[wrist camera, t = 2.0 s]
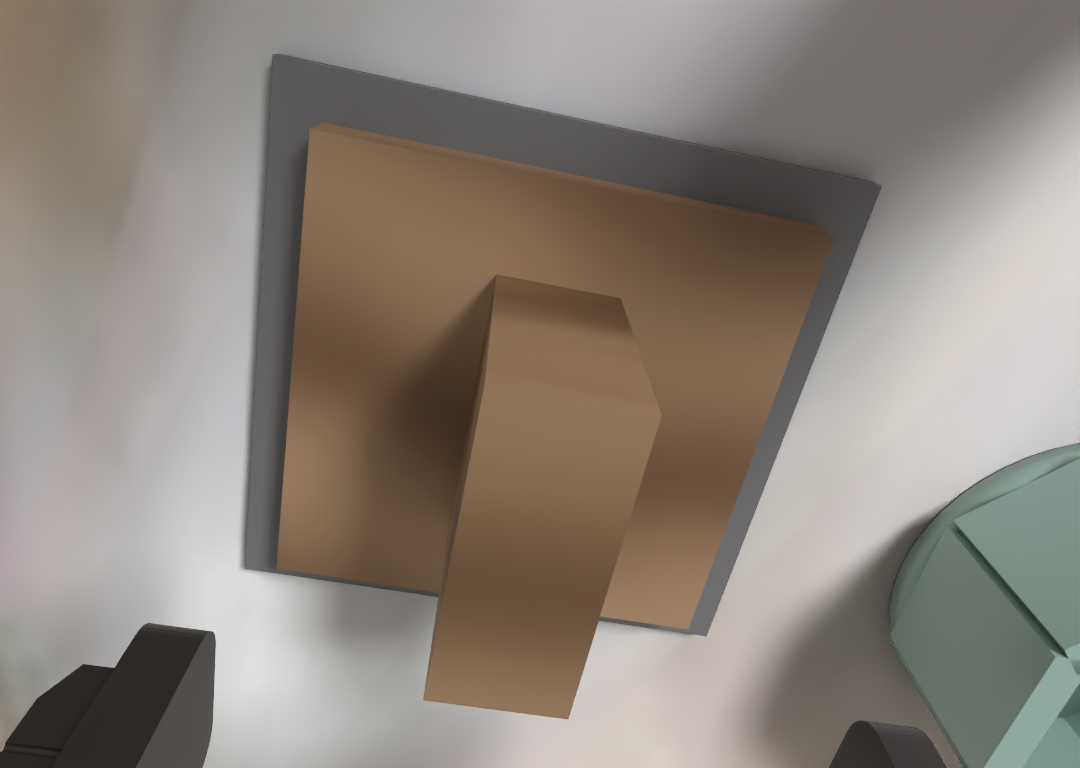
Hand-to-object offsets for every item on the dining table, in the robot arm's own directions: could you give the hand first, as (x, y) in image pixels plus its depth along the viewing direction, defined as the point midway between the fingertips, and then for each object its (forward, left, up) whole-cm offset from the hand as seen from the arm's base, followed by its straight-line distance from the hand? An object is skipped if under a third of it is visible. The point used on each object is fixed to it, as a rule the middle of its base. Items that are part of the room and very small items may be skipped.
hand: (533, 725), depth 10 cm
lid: (0, 0, -9) cm, 9 cm away
